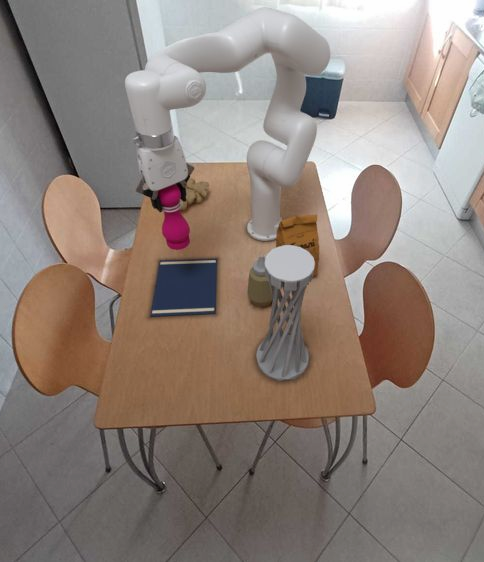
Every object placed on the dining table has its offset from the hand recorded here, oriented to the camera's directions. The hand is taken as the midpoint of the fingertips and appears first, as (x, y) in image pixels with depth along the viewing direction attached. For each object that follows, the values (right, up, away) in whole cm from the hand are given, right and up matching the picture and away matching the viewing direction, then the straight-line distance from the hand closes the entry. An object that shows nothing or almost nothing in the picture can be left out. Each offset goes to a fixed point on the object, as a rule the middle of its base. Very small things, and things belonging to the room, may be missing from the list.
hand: (170, 203), depth 97 cm
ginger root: (-6, +12, +49) cm, 51 cm away
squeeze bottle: (+22, -25, +17) cm, 37 cm away
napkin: (-1, -21, +20) cm, 29 cm away
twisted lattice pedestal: (+28, -39, +4) cm, 48 cm away
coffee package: (+32, -17, +25) cm, 44 cm away
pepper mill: (0, -9, +10) cm, 13 cm away
